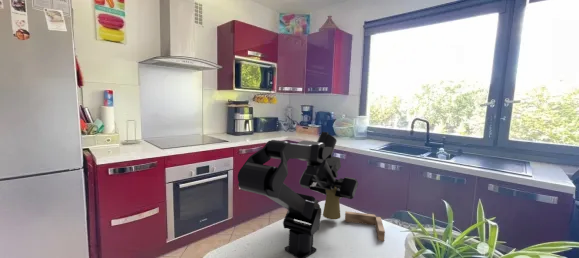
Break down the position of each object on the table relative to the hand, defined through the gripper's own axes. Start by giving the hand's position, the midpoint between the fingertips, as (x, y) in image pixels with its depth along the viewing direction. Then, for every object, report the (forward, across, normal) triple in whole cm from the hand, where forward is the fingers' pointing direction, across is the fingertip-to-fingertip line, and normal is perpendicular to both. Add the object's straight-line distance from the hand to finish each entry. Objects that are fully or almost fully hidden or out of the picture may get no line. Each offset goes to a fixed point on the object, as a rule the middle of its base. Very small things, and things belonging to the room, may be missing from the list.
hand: (334, 195), depth 90 cm
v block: (+8, -12, +4) cm, 15 cm away
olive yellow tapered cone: (+4, 0, +6) cm, 7 cm away
